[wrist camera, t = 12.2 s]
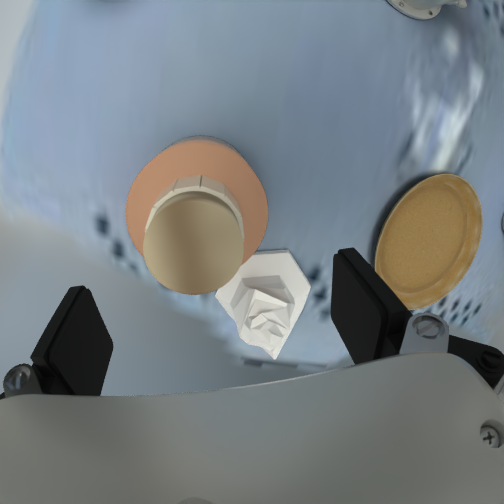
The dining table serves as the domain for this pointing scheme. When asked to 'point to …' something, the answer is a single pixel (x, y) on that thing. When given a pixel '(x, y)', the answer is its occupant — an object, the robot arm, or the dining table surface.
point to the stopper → (193, 243)
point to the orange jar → (199, 187)
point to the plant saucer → (429, 240)
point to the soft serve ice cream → (266, 298)
